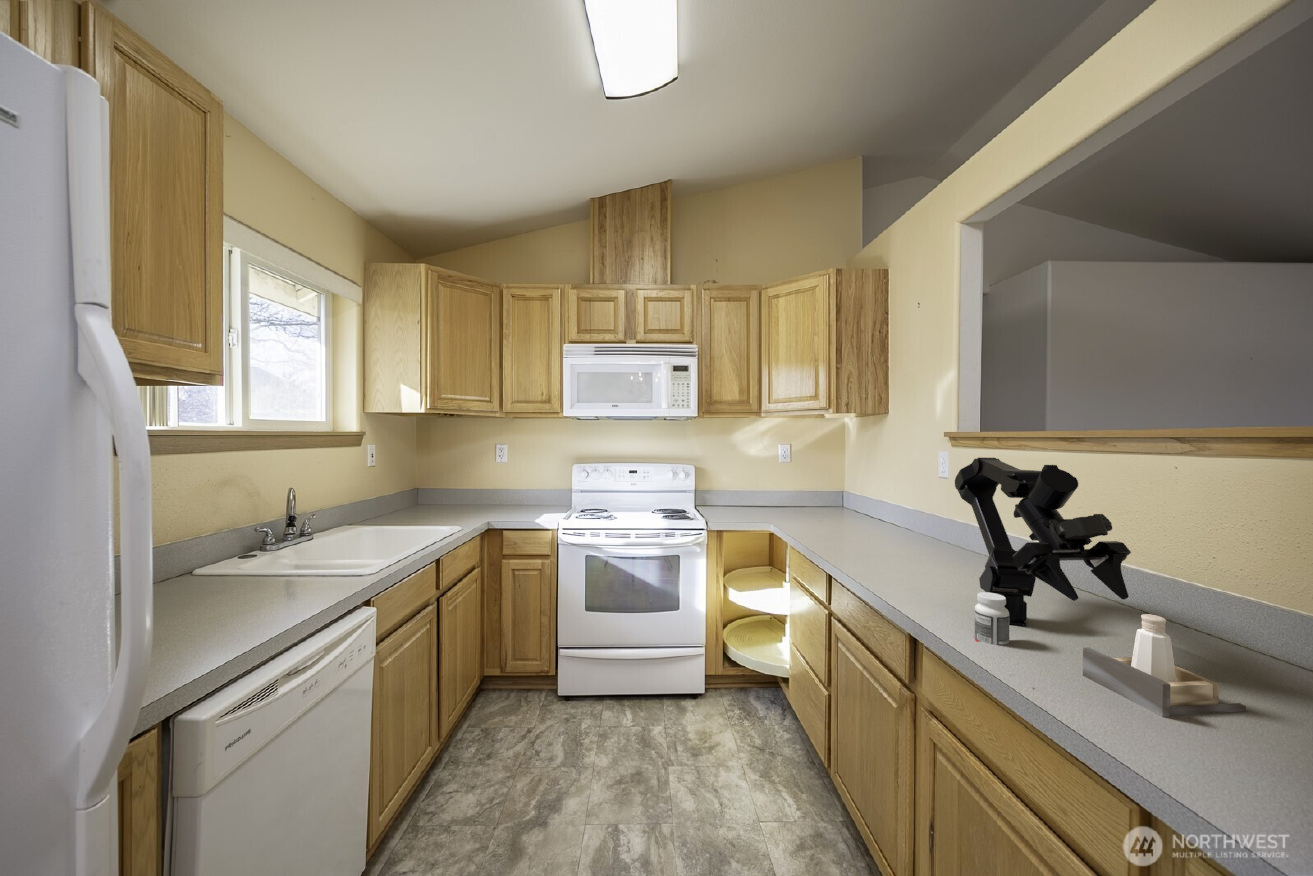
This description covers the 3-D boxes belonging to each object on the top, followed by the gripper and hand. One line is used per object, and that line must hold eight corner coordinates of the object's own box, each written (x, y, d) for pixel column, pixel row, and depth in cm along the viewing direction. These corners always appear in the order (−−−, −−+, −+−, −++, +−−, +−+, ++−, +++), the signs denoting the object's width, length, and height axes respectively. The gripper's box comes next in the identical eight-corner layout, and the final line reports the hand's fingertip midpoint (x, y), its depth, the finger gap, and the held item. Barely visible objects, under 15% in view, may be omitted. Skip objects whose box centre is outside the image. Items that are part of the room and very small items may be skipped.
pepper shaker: (1179, 687, 77) (1180, 617, 76) (1176, 699, 73) (1177, 626, 73) (1131, 674, 81) (1132, 607, 81) (1126, 684, 77) (1127, 615, 77)
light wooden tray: (1152, 677, 82) (1152, 656, 82) (1218, 707, 73) (1218, 683, 73) (1103, 679, 81) (1103, 658, 81) (1164, 710, 72) (1164, 686, 72)
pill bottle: (1003, 641, 99) (1004, 592, 98) (1013, 653, 93) (1014, 602, 93) (970, 637, 100) (971, 589, 100) (979, 649, 95) (979, 598, 95)
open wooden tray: (1135, 668, 88) (1136, 634, 88) (1251, 720, 72) (1252, 680, 72) (1053, 671, 86) (1053, 638, 86) (1152, 726, 70) (1153, 685, 70)
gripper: (1025, 498, 89) (1082, 576, 78) (1120, 497, 90) (1189, 574, 79) (992, 533, 97) (1039, 608, 86) (1080, 531, 98) (1137, 606, 87)
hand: (1101, 599), depth 84 cm, fingers open, 9 cm apart
